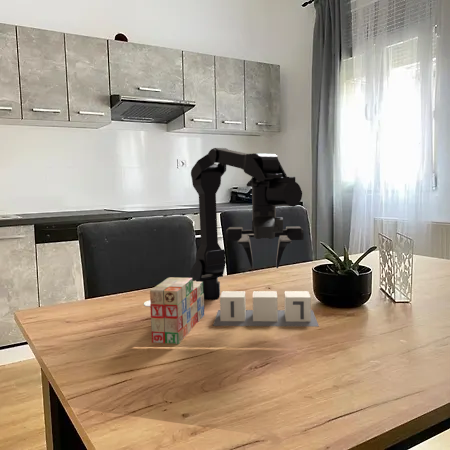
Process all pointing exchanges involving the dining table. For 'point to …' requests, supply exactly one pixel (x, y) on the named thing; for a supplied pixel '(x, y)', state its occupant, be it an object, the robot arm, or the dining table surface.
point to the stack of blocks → (175, 309)
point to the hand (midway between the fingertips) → (264, 268)
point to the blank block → (265, 306)
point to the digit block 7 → (297, 306)
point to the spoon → (147, 303)
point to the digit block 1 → (232, 306)
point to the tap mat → (250, 321)
